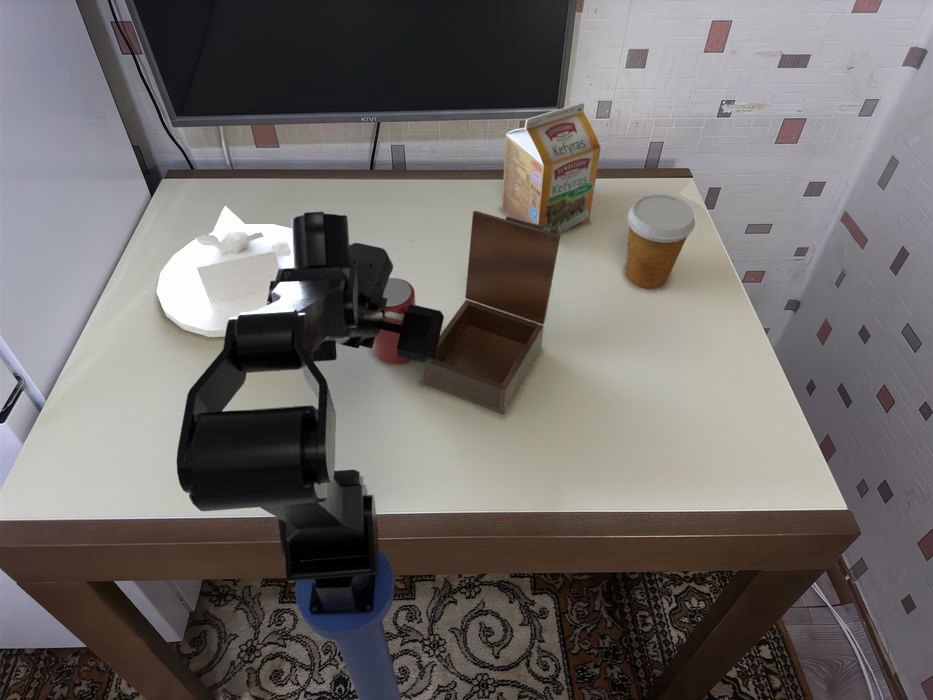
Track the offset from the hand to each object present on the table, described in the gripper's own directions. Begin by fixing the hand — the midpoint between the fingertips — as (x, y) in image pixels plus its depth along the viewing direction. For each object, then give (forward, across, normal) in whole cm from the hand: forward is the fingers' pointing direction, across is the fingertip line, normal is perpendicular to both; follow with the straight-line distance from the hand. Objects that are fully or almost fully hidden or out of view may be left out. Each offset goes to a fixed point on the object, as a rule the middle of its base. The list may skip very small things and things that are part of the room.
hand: (386, 322), depth 87 cm
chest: (+7, -12, +3) cm, 14 cm away
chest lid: (+3, -14, -10) cm, 17 cm away
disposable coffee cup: (+25, -31, -15) cm, 42 cm away
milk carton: (+32, -12, -22) cm, 41 cm away
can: (+6, 0, +3) cm, 7 cm away
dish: (+10, +28, -1) cm, 30 cm away
